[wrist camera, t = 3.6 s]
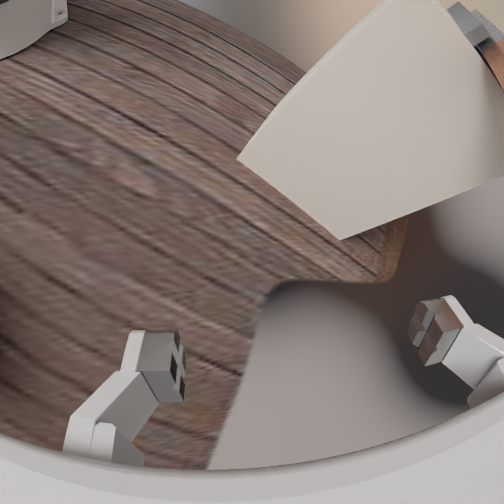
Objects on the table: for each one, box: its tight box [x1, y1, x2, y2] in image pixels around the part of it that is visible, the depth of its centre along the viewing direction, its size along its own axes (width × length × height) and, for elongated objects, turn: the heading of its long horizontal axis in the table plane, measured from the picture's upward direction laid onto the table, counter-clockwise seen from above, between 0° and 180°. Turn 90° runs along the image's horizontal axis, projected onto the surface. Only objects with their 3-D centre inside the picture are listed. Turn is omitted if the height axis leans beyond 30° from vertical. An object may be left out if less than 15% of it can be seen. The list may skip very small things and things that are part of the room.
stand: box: [237, 0, 504, 240], centre depth 25 cm, size 12×16×28 cm
